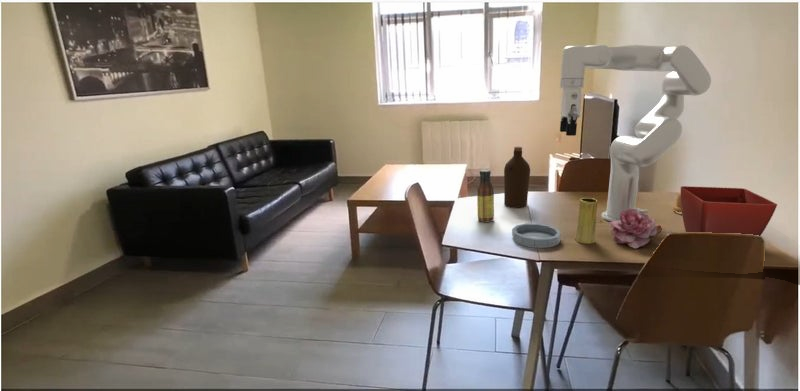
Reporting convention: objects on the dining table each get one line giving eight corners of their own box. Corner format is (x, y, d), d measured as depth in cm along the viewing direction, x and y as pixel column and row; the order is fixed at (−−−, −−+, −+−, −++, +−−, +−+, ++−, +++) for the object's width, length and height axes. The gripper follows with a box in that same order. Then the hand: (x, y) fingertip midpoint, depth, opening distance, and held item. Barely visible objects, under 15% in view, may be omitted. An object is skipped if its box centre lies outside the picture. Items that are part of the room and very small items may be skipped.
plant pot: (735, 235, 147) (744, 187, 142) (767, 258, 129) (779, 204, 125) (672, 232, 151) (679, 185, 147) (695, 254, 133) (703, 202, 129)
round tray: (553, 231, 156) (553, 223, 155) (565, 248, 141) (565, 239, 140) (509, 231, 157) (509, 223, 156) (516, 247, 142) (517, 239, 141)
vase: (596, 244, 143) (600, 203, 139) (577, 243, 144) (580, 202, 140) (592, 237, 149) (596, 197, 145) (573, 236, 150) (577, 197, 146)
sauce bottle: (495, 218, 171) (497, 169, 165) (491, 223, 165) (493, 172, 160) (479, 216, 174) (480, 168, 168) (474, 221, 168) (475, 171, 163)
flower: (599, 224, 153) (609, 200, 148) (642, 229, 152) (654, 206, 147) (611, 251, 141) (622, 227, 135) (658, 257, 140) (671, 233, 134)
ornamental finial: (670, 213, 171) (674, 208, 176) (693, 216, 166) (696, 212, 172) (673, 193, 169) (677, 189, 174) (696, 196, 164) (699, 192, 169)
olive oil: (528, 209, 181) (532, 149, 174) (502, 208, 184) (504, 149, 177) (527, 201, 191) (530, 145, 184) (503, 200, 193) (505, 145, 187)
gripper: (590, 84, 141) (585, 137, 146) (576, 82, 157) (572, 130, 162) (566, 84, 142) (561, 137, 147) (555, 83, 158) (551, 130, 163)
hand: (567, 133), depth 154 cm, fingers open, 9 cm apart
